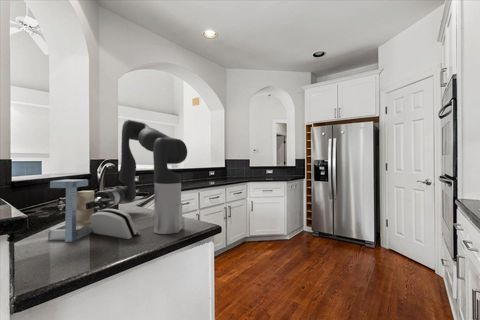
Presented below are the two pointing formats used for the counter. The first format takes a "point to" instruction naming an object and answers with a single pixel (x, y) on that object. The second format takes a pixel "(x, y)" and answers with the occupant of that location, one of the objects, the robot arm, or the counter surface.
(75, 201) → the grey i-shaped block
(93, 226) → the gray curved wedge
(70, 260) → the counter surface
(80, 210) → the link
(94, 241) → the counter surface
